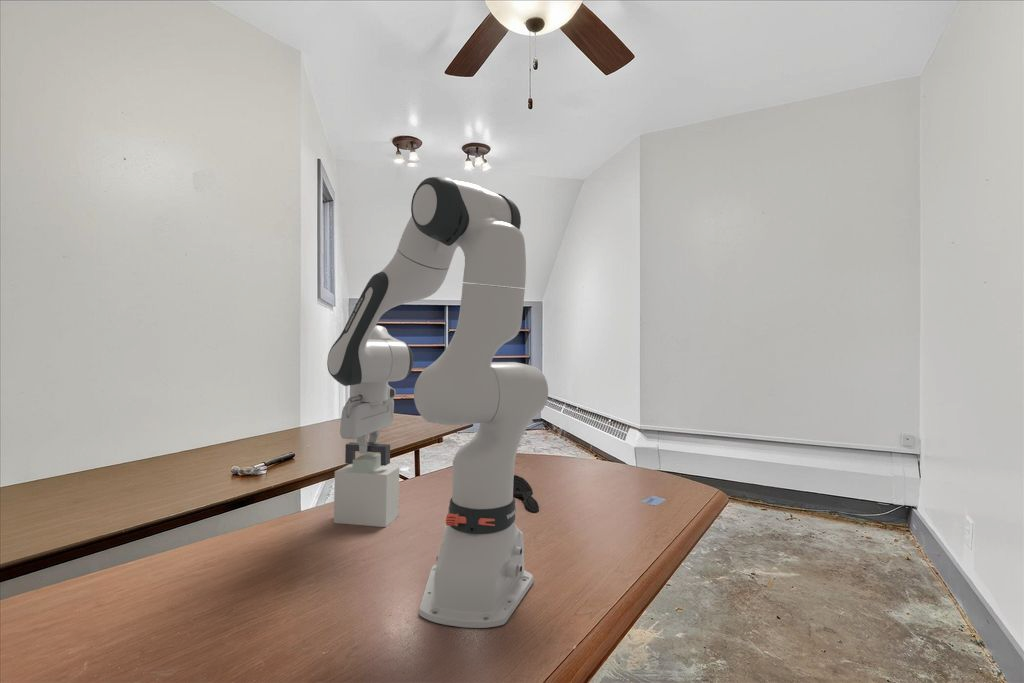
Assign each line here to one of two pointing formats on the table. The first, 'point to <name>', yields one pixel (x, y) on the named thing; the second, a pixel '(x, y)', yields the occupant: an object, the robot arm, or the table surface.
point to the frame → (378, 448)
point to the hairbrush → (525, 493)
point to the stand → (366, 492)
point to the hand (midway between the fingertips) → (368, 451)
